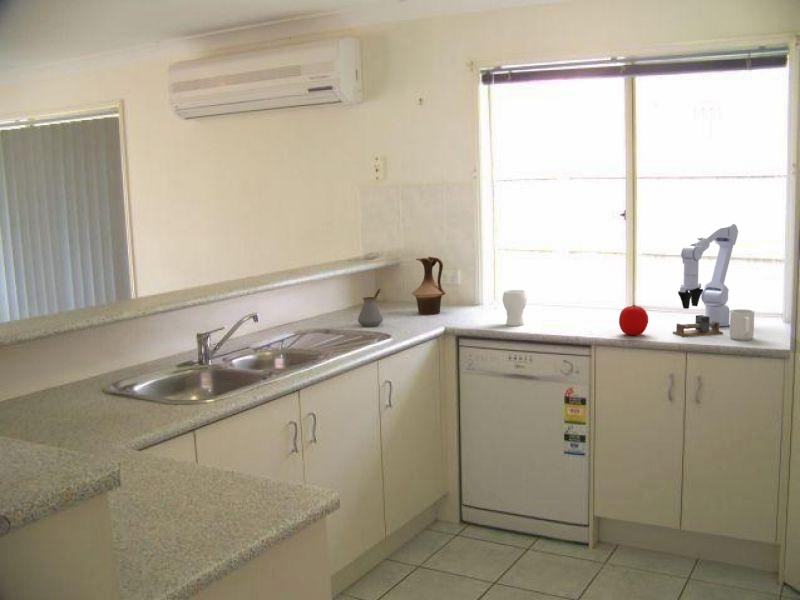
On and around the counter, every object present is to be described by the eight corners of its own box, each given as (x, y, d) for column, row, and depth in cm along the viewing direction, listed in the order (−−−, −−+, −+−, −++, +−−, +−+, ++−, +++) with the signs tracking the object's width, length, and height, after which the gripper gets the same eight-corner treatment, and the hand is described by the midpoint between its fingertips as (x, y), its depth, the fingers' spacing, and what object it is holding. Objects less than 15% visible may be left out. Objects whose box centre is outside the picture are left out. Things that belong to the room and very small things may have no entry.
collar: (701, 329, 354) (702, 314, 353) (709, 331, 349) (709, 317, 348) (695, 329, 354) (695, 315, 353) (702, 331, 348) (702, 317, 347)
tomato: (630, 338, 345) (631, 308, 343) (612, 333, 356) (613, 304, 354) (655, 335, 350) (655, 305, 348) (636, 330, 361) (637, 301, 359)
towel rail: (712, 330, 357) (712, 320, 356) (722, 334, 349) (723, 323, 348) (672, 333, 353) (672, 323, 352) (682, 337, 345) (683, 326, 345)
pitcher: (453, 311, 421) (452, 255, 417) (436, 317, 407) (435, 259, 403) (423, 309, 431) (421, 254, 426) (405, 314, 417) (403, 257, 412)
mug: (726, 336, 344) (727, 309, 342) (749, 336, 343) (750, 309, 341) (735, 342, 332) (736, 314, 330) (758, 342, 331) (760, 314, 329)
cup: (500, 326, 380) (500, 292, 378) (506, 322, 390) (505, 289, 388) (524, 327, 376) (523, 293, 374) (529, 322, 386) (528, 290, 384)
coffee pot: (378, 328, 384) (377, 295, 381) (354, 327, 387) (353, 294, 385) (392, 319, 404) (391, 288, 401) (369, 319, 407) (368, 288, 405)
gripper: (690, 272, 361) (689, 303, 363) (673, 276, 351) (672, 308, 353) (706, 273, 356) (705, 305, 358) (689, 277, 346) (688, 310, 348)
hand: (690, 307), depth 355 cm, fingers open, 7 cm apart
